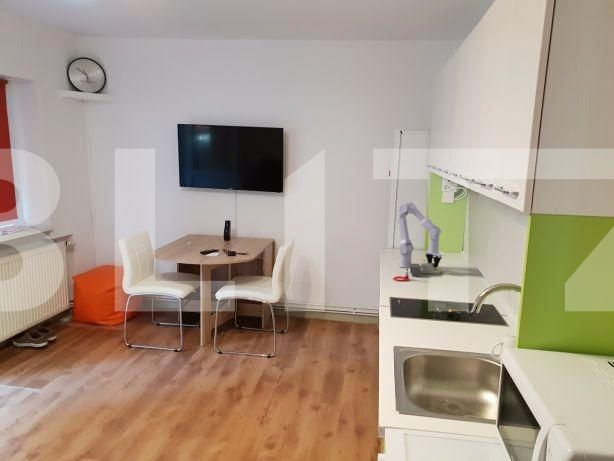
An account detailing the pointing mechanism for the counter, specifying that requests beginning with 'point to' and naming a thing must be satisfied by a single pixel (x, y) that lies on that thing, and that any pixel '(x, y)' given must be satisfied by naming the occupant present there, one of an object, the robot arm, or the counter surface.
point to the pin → (428, 266)
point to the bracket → (415, 270)
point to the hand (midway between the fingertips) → (432, 265)
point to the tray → (432, 271)
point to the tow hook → (402, 276)
